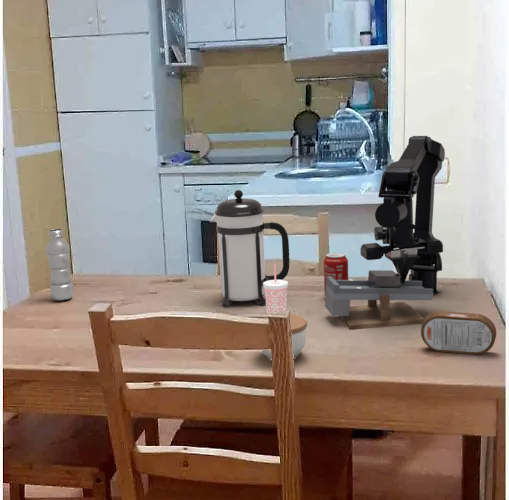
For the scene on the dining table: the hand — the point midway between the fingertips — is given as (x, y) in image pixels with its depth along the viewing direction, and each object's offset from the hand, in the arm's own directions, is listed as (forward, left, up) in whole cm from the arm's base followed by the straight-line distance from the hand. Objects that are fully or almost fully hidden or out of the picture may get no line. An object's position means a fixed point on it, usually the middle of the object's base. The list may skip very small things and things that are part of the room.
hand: (402, 283), depth 170 cm
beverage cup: (+30, -6, -8) cm, 32 cm away
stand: (+6, 0, -8) cm, 10 cm away
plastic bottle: (+86, -38, -8) cm, 94 cm away
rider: (+5, 0, -1) cm, 5 cm away
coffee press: (+35, -23, -8) cm, 43 cm away
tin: (-3, +26, -8) cm, 28 cm away
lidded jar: (+33, +20, -8) cm, 39 cm away
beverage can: (+12, -18, -8) cm, 23 cm away
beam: (+6, 0, -7) cm, 9 cm away
